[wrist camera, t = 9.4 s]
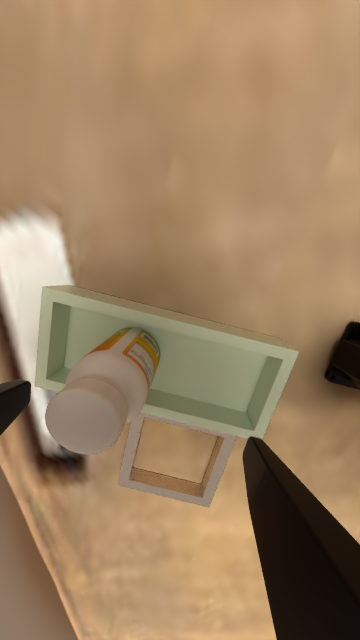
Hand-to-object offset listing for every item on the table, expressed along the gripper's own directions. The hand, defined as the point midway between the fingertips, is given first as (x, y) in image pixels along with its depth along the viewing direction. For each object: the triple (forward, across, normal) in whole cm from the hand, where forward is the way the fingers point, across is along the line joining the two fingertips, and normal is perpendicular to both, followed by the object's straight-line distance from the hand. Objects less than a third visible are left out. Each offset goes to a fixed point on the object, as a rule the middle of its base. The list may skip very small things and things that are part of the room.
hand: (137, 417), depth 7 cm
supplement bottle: (+11, +3, +3) cm, 12 cm away
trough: (+12, 0, +3) cm, 13 cm away
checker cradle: (+12, -4, +14) cm, 19 cm away
